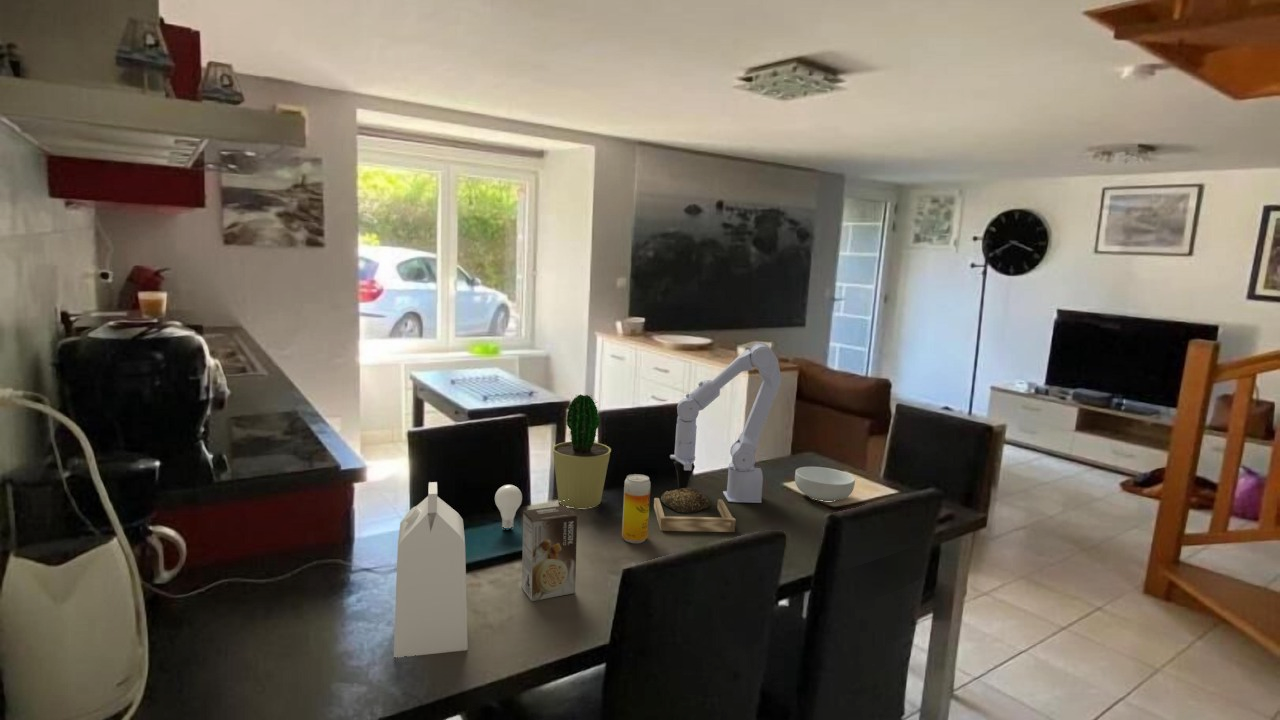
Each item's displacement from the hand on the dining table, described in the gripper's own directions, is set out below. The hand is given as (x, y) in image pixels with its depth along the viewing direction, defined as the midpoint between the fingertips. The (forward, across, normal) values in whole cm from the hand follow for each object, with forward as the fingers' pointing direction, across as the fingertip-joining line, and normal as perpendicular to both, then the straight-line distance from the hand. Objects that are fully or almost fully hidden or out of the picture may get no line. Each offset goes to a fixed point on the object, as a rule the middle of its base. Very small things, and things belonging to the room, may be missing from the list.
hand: (682, 487), depth 195 cm
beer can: (+2, +32, -16) cm, 36 cm away
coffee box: (+2, +59, -35) cm, 68 cm away
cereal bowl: (+2, 0, +41) cm, 41 cm away
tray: (+2, +18, 0) cm, 19 cm away
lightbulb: (+2, +29, -46) cm, 54 cm away
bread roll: (+2, +8, 0) cm, 8 cm away
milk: (+2, +75, -54) cm, 92 cm away
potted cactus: (+2, +9, -29) cm, 30 cm away
